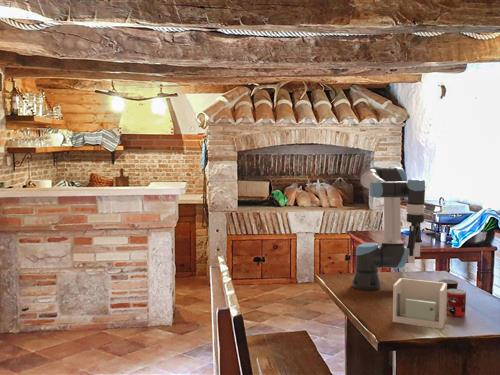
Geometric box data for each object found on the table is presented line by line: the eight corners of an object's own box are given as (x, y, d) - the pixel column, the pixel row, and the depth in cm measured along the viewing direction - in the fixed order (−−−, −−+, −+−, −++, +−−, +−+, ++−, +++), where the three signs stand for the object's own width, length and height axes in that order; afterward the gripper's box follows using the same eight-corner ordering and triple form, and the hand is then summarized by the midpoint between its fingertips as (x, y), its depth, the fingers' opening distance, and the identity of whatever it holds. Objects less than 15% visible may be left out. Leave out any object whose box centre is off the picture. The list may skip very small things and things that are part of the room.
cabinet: (392, 321, 224) (393, 285, 223) (399, 312, 237) (400, 278, 236) (441, 329, 215) (442, 290, 214) (446, 319, 228) (447, 283, 226)
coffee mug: (459, 304, 249) (459, 284, 248) (439, 303, 251) (440, 283, 250) (454, 297, 260) (455, 278, 260) (436, 297, 262) (436, 277, 261)
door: (404, 323, 223) (405, 300, 222) (406, 321, 225) (406, 298, 224) (434, 327, 217) (435, 304, 216) (435, 325, 220) (436, 302, 219)
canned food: (443, 312, 237) (443, 288, 236) (460, 312, 237) (460, 288, 237) (450, 318, 229) (451, 293, 228) (468, 317, 230) (469, 293, 229)
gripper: (419, 217, 222) (417, 266, 225) (428, 210, 244) (427, 254, 247) (401, 216, 226) (399, 264, 228) (412, 209, 248) (410, 253, 250)
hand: (414, 259), depth 237 cm, fingers open, 13 cm apart
